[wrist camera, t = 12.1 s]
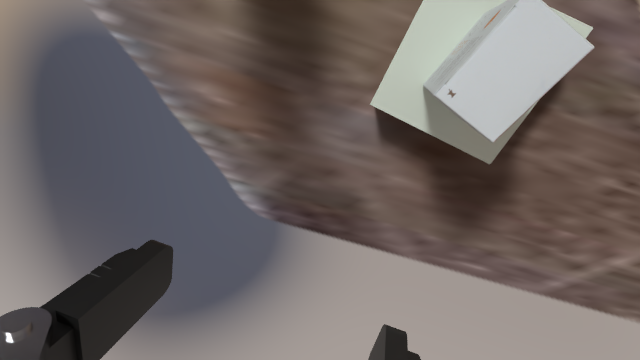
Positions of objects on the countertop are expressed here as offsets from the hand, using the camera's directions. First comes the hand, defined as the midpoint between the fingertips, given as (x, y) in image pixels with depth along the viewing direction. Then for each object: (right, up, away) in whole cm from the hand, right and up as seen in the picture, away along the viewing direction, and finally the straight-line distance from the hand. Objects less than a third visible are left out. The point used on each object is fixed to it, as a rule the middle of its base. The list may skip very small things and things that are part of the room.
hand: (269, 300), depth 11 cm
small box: (+16, +15, +19) cm, 29 cm away
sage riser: (+17, +17, +24) cm, 34 cm away
